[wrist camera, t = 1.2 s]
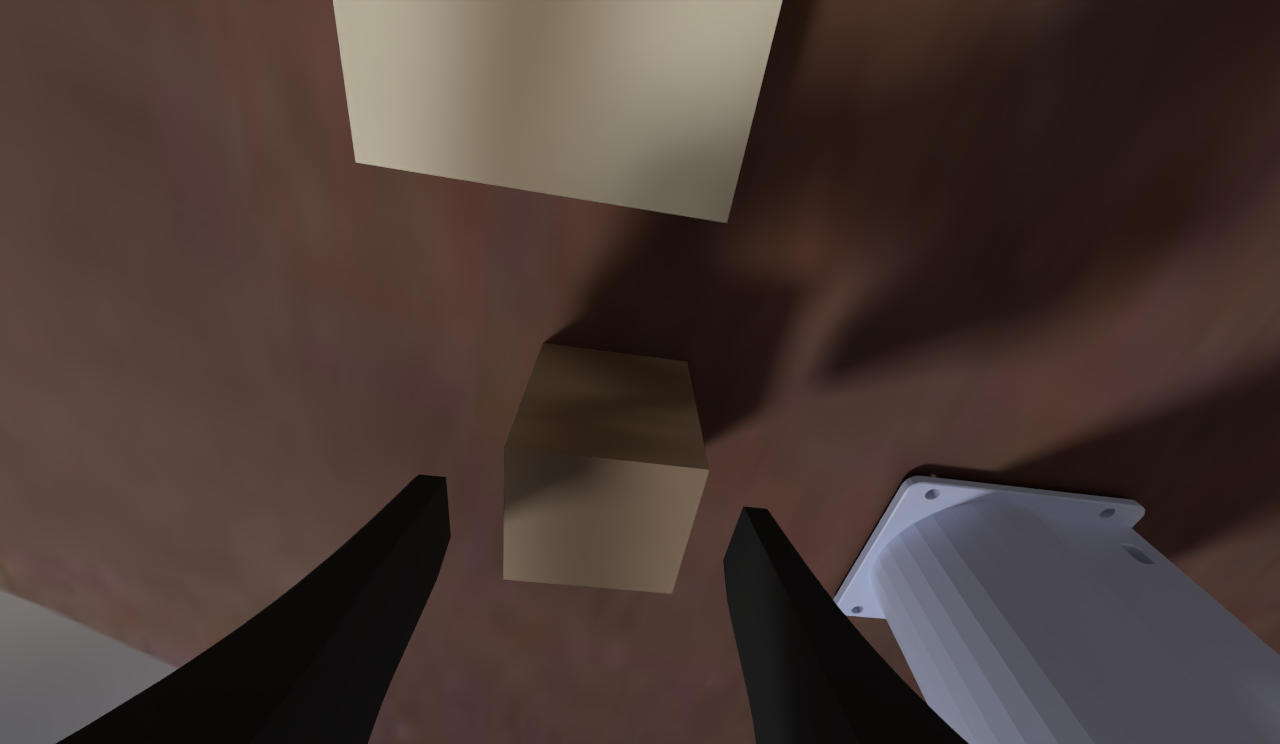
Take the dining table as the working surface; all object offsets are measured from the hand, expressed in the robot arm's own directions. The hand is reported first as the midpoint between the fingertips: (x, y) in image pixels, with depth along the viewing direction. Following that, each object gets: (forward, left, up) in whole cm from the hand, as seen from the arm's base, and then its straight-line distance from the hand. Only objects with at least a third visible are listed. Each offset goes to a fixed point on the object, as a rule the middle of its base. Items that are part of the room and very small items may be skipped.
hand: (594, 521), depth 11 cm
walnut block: (0, 0, -5) cm, 5 cm away
